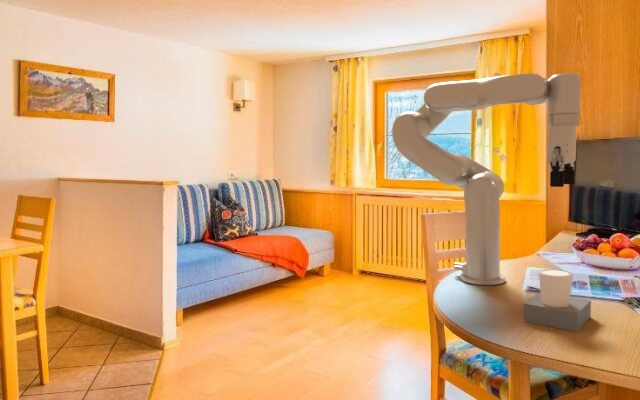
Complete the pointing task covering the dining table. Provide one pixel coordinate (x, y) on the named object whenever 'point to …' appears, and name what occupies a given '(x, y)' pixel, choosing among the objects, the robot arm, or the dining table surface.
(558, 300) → the white cup
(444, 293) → the dining table surface
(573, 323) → the slate plinth
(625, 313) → the dining table surface
